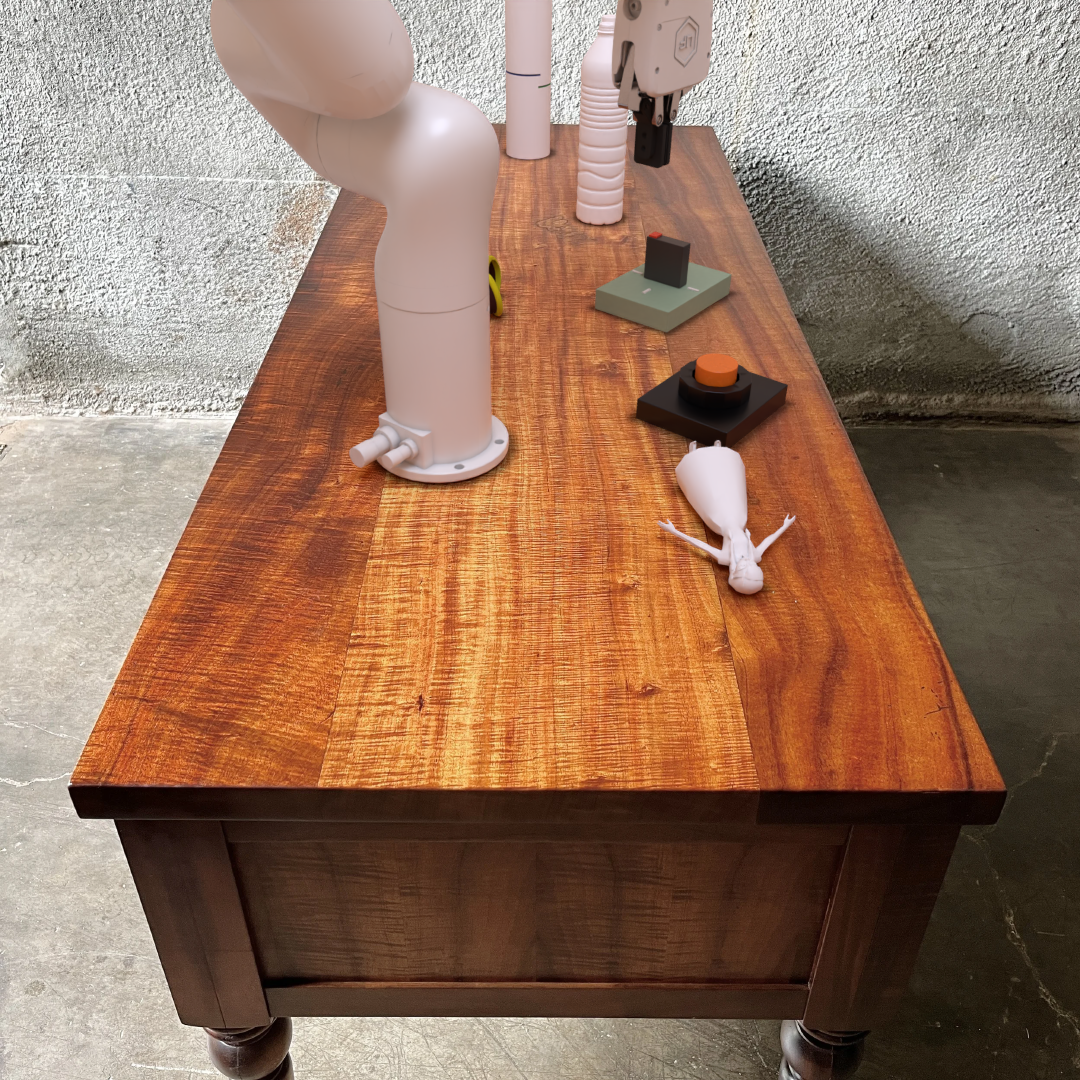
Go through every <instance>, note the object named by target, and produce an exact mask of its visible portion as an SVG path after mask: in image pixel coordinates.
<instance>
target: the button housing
mask: <svg viewBox="0 0 1080 1080" xmlns="http://www.w3.org/2000/svg"><path fill="white" fill-rule="evenodd" d="M698 358H699V357H697V358H695V359H694V360H691V361H689V362H688V363H686V364H685V365H683V366H681V367H680V368H679V370H678V371H676V372H675V373H674V374H672V375H670V376H669V377H667V378H666V379H664V380H663V381H662V382H660V383H659V384H657V385H656V386H655V387H653V388H652V389H650V390H648V391H647V392H645V393H644V394H642V395H641V396H640V397H638V398H637V400H636V410H635V411H636V412H635V419H636V420H639V421H642V422H644V423H647V424H650V425H652V426H655V427H657V428H660V429H663V430H665V431H668V432H670V433H672V434H675V435H678V436H680V437H683V438H686V439H688V440H690V441H692V442H693V441H696V443H698V444H701V445H704V446H705V447H712V446H714V443H715V442H716V441H717V440H719V441H720V442H721V447H727V448H729V449H732V448H733V446H735V445H736V444H737V443H738V442H739V441H741V440H742V439H743V438H744V437H746V436H747V435H748V434H749V433H751V432H752V431H753V430H754V429H756V428H757V427H758V426H759V425H760V424H762V423H763V422H764V421H766V420H767V419H768V418H769V417H770V416H772V415H773V414H774V413H776V411H778V410H779V409H780V408H781V407H783V406H784V405H785V404H786V398H787V393H788V387H789V384H787V383H784V382H782V381H778V380H776V379H772V378H769V377H766V376H763V375H760V374H758V373H755V372H753V371H752V372H751V371H749V370H748V369H747V368H745V367H744V366H743V365H741V364H739V363H738V371H737V378H736V382H735V384H733V385H730V386H725V387H716V386H707V385H704V384H702V383H699V382H697V381H696V379H695V370H696V361H697V359H698Z"/></svg>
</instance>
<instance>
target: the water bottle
mask: <svg viewBox="0 0 1080 1080" xmlns="http://www.w3.org/2000/svg"><path fill="white" fill-rule="evenodd" d="M615 18H616V14H613V13H612V14H610V13H608V14H602V15H601V19H600V21H601V22H599V24H598V29H597V30H596V31H597V36H596V37H595V39H594V41H593V42H592V44H591V45H590V47H589V48H588V50H587V52H586V53H585V54H584V56H583V57H582V60H581V66H580V82H581V83H580V104H579V109H580V110H579V127H578V140H579V142H578V149H577V153H578V158H577V170H578V172H577V177H576V178H577V187H576V197H577V199H576V207H575V215H576V218H577V220H579V221H581V222H583V223H585V224H591V225H596V226H603V225H613V224H615V223H618V222H620V221H621V219H622V218H623V213H624V212H623V211H624V200H623V199H624V191H625V190H624V189H625V188H624V187H625V186H624V184H625V174H626V169H625V166H626V156H627V143H626V142H627V139H628V121H629V119H628V117H629V110H627V109H623V108H619V107H618V98H619V92H620V90H618V89H616V88H615V86H614V85H613V81H612V49H613V36H614V26H615Z"/></svg>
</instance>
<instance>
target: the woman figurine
mask: <svg viewBox="0 0 1080 1080" xmlns="http://www.w3.org/2000/svg"><path fill="white" fill-rule="evenodd" d="M688 450H689V451H688V453H686V454H684V456H683V457H682V459H681V460H680V462H679V463H678V464H677V466H676V468H675V469H674V473H675V477H676V483H677V484H678V485H677V486H679V488H680V490H681V491H682V493H683V495H684V497H685V498H686V500H687V501H688V503H689V504H690V505H691V506H692V508H693V509H694V510H695V512H696V513H697V515H698V516H699V517H700V518H701V519H702V521H703V522H704V523H705V525H706V526H707V527H708V528H709V529H710V530H711V531H712V532H714V533H715V534H716V535H720V536H722V537H723V539H722V548H721V549H719V548H716V547H714V546H711V545H710V544H708V543H706V542H704V541H702V540H700V539H698V538H695V537H692V536H689V535H687V534H685V533H683V532H682V531H679V530H677V529H676V528H675V526H674V524H673V522H671V520H669V519H668V518H667V519H666V522H667V523H665V522H662V521H661V520H658V522H656V524H657V525H658V526H659V527H660V528H661V530H663V531H664V532H667V533H669V534H672V535H674V536H676V537H678V538H679V539H681V540H683V541H685V542H686V543H688V544H689V545H691V546H693V547H694V548H697V549H699V550H701V551H703V552H704V553H706V554H707V555H709V556H710V557H712V558H713V559H715V560H716V561H717V564H719V565H723V566H728V567H729V577H728V579H727V580H728V584H729V586H730V587H732V588H733V589H734V590H735V591H736V592H738V593H740V594H745V595H752V594H755V593H757V592H759V591H761V590H762V589H763V587H764V582H763V581H764V572H763V570H762V568H761V567H760V566H758V564H757V563H761V561H762V555H763V554H764V552H765V551H766V550H767V549H768V548H769V547H770V546H771V545H772V544H774V543H775V542H776V541H777V539H779V537H780V536H782V534H783V533H784V532H785V531H786V530H787V529H789V528H790V527H791V526H792V524H793V523H794V522H795V520H796V515H793V517H791V518H790V519H789V517H790V515H789V514H788V513H787V515H786V517H785V518H784V521H783V525H781V526H780V528H778V529H777V530H776V531H775V532H773V533H771V534H769V535H768V536H766V537H765V538H764V539H763V540H762V541H761V542H760V543H759V544H758V545H757V546H756V547H755V545H754V543H753V542H752V540H751V532H750V530H749V529H748V528H747V521H748V496H747V495H748V494H747V478H746V466H745V464H744V461H743V459H742V457H741V455H740V453H739V452H737V451H736V450H733V449H732V448H727V447H721V442H720V441H719V440H717V441H716V442H715V443H714V446H712V447H708V446H705V447H699V448H697V442H696V441H693V440H692V442H690V443H689V447H688Z"/></svg>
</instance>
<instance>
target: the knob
mask: <svg viewBox="0 0 1080 1080" xmlns="http://www.w3.org/2000/svg"><path fill="white" fill-rule="evenodd" d="M690 254H691V242H688V241H686V240H685V241H684V240H682V239H678V238H674V237H670V236H666V235H663V233H662V232H659V231H653V232H651V233H649V234H648V235H647V236H646V243H645V254H644V256H645V257H644V263H645V267H644V278H647V279H650V280H654V281H657V282H660V283H663V284H666V285H670V286H673V287H676V288H681V287H683V286H684V285H686V284H687V274H688V264H689V262H690Z"/></svg>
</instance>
